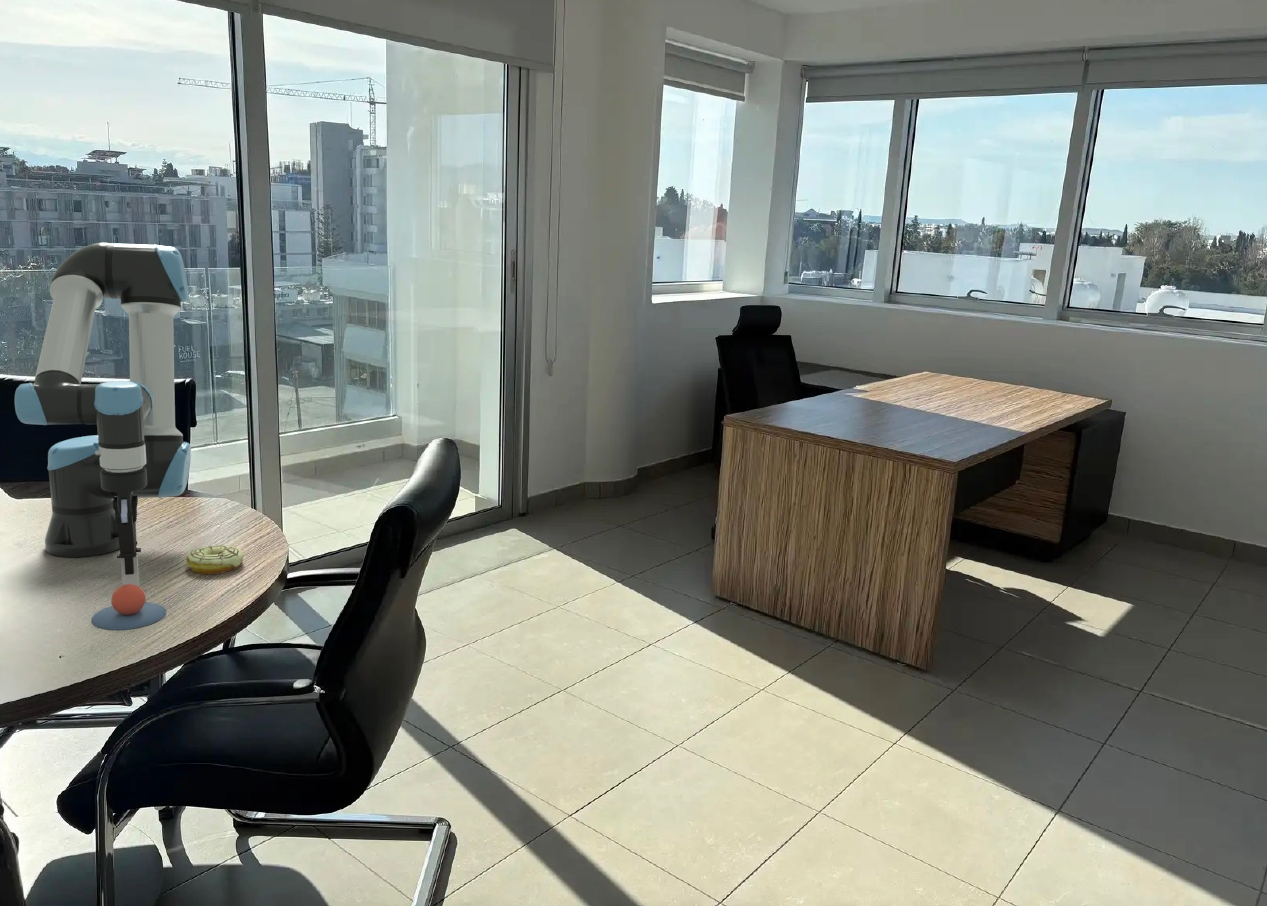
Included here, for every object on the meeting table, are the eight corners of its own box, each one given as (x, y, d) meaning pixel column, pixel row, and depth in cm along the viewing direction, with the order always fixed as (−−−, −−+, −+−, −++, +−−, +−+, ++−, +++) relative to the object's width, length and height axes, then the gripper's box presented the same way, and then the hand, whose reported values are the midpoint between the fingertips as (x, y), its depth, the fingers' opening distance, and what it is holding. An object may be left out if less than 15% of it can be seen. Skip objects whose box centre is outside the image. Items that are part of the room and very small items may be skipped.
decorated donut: (249, 571, 200) (248, 554, 199) (193, 580, 194) (192, 562, 193) (235, 555, 208) (235, 539, 207) (182, 563, 202) (181, 546, 201)
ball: (105, 604, 171) (108, 617, 175) (139, 608, 172) (141, 621, 177) (115, 576, 174) (118, 591, 178) (148, 581, 176) (150, 595, 180)
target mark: (85, 611, 176) (85, 610, 176) (156, 598, 183) (156, 597, 183) (99, 635, 167) (99, 634, 167) (174, 620, 174) (174, 619, 174)
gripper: (102, 459, 181) (110, 577, 187) (97, 477, 170) (106, 603, 175) (147, 457, 184) (154, 574, 190) (145, 475, 173) (152, 598, 178)
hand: (131, 587), depth 183 cm, fingers closed
